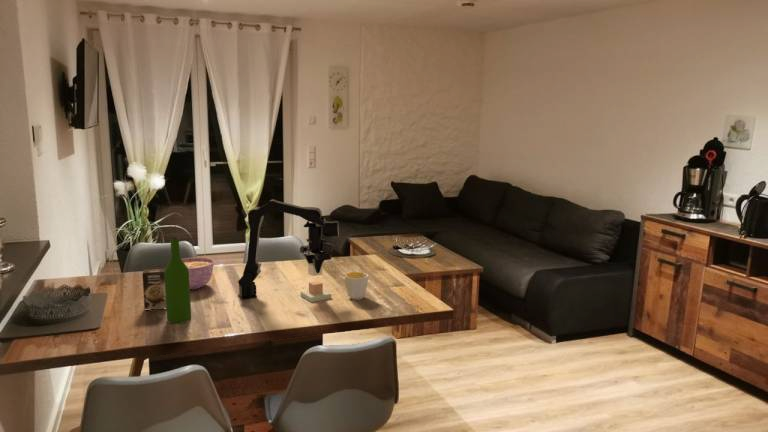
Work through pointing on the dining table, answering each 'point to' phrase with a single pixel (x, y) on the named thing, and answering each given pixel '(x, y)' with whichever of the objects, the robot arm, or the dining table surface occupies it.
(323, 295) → the base plate
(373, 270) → the dining table surface
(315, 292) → the orange brown cube
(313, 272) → the brick cream
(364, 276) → the mug
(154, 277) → the coffee box
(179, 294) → the wine bottle
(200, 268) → the bowl of food
